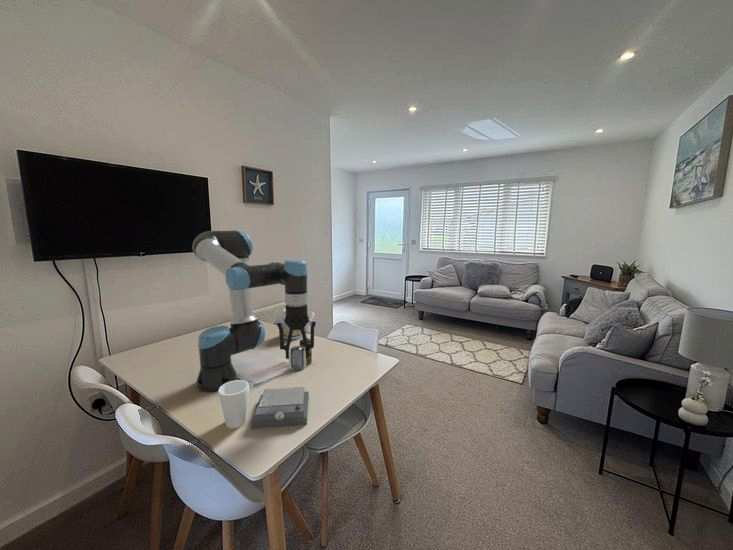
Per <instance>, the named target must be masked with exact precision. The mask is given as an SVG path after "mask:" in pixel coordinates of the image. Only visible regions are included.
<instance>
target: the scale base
mask: <svg viewBox="0 0 733 550" xmlns="http://www.w3.org/2000/svg"><path fill="white" fill-rule="evenodd" d="M309 395H310V394H309V391H307V390H306V391H304V401H303V405H292V406H278V407H265V408H259V405H260V402H261V399H262V396H263V393H262V394H260V396H259V400H258V402H257V404H256V408H255V411H254V413H253V417H252V420H251V429H254V430H255V429H262V428H263V429H264V428H275V427H278V428H279V427H288V426H290V427H291V426H299V425H308V413H309V411H308V410H309V401H310V400H309V398H310V397H309Z"/></svg>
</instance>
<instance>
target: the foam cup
mask: <svg viewBox="0 0 733 550" xmlns="http://www.w3.org/2000/svg"><path fill="white" fill-rule="evenodd" d="M217 392H218V398H219V401H220V406H221V410H222V414H223V415H222V416H223V419H224V423H225V426H226V428H228V429H237V428H241V427H242V426H244V424H246V421H247V415H248V405H249V404H248V402H249V393H250V383H249V382H248V381H246V380H243V379H236V380H235V381H230V382H228V383H225V384H223V385H222V386H221V387H220V388H219V390H218V391H217Z"/></svg>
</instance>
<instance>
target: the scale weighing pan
mask: <svg viewBox="0 0 733 550" xmlns="http://www.w3.org/2000/svg"><path fill="white" fill-rule="evenodd" d="M305 389H306V387H305V386H301V387H299V386H298V387H283V388H282V387H281V388H270V389H269V388H268V389H267V388H266V389H264V391H263V393H262V394H263V396H262V399H261V402H260V405H259V408H265V407H278V406H292V405H303V401H304V392H305Z"/></svg>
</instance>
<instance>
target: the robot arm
mask: <svg viewBox="0 0 733 550" xmlns="http://www.w3.org/2000/svg"><path fill="white" fill-rule="evenodd" d="M253 249H254V246H253V241H252V238H251V237H250V235H248V233H247V232H246V231H242V230H209V231H207V230H206V231H204V232H201V233H200V234H198V235H197V236H196V237H195V238H194V240H193V242H192V252H193V255H195V257H196V258H197V259H199V260H200V261H203V262H205V263H209V264H210V265H211V266H212V267H214V268H215V269H216V270H217V271H219V272H220V273H221V274H223V276H225V283H226V285H227V286H228V291H229V298H230V304H231V311H232V320H231V321H230V323H229V324H230V327H229V326H227V325H216V326H212V327H209V328H207V329H205V330H203V331H202V332H201V333H200V334H199V335H198V344H197V347H198V352H199V364H200V369H199V372H198V376H197V378H196V388H197V389H198V390H199V391H203V392H207V393H208V392H218V390H219V388H220V387H221V386H222V385H223V384H225V383H228V382H230V381H235V380H238V379H237V372H236V369H235V368H234V365H233V363H232V356H234V355H237V354H240V353H243V352H247V351H250V350H254V349H256V348H258V347H260V346H262V345H263V344H264V341H265V339H266V329H265V325H264V323H263V322H262V321H260V320H259V318H258V317H257V316H256V315H255V314H254V309H253V308H254V307H253V302H252V295H251V294H252V293H251V289H254V288H255V289H256V288H261V287H267V286H272V285H273V286H274V285H282V286H284V297H285V298H284V299H285V300H284V301H285V304H286V305H285V306H284V307H285V308H286V317H285V320H283V321H282V320H278V322H277V323H276V325H277V329H278V333H279V349H280V350H281V351H282V350H283V351H285V359H286V360H288V367H289V368H288V369H292V363H291V348H292V347H291V341H292V339H291V338H292V333H293V330H300V331H301V334H302V338H301V339H303V342H304V345H305V348H304V350H303V357H304V369H306V368H307V366H306V358H309V349H310V348H312V349H314V347H315V327H316V324H317V321H316V319H310V318H309V313H308V304H307V303H308V269H307V262H306V261H305V260H304V259H288V260H285V261H284V262H283V263H281V262H278V261H276V262H275V261H274V262H273V261H272V262H269V263H267V264H257V265H249V264H248V262H249V260H250V256H252V254H253ZM285 308H284V309H285ZM285 323H286V325H287V326H288V327H289V328H290V330H289V335H288V339H286V344H285V338H284V328H283V327H284V324H285ZM308 324H309V327H310V344H308V340H307V338H308V335H307V331H306V329H305V328H306V326H307V325H308Z"/></svg>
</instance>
